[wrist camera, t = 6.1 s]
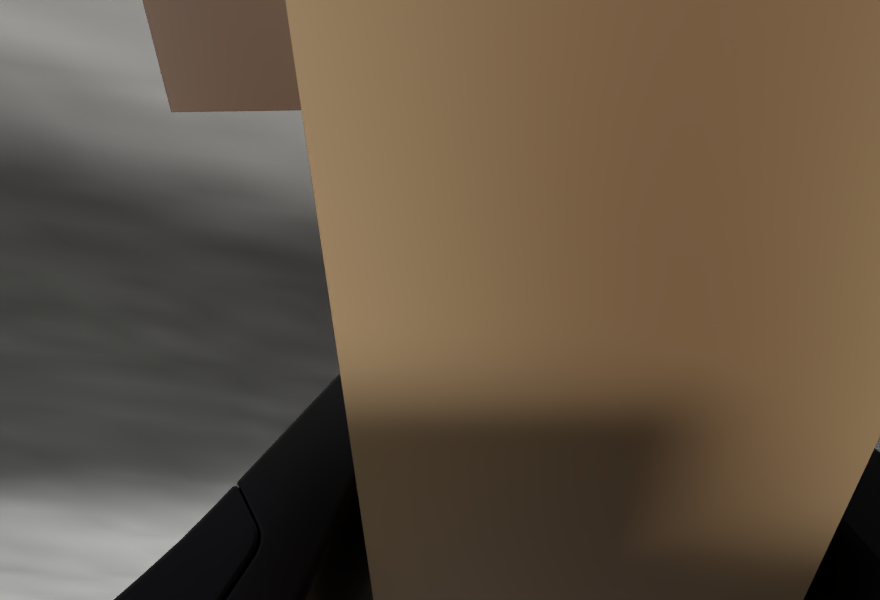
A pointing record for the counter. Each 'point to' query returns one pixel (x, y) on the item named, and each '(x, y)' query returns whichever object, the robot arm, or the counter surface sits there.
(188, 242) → the counter surface
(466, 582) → the wooden block
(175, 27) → the slot block
